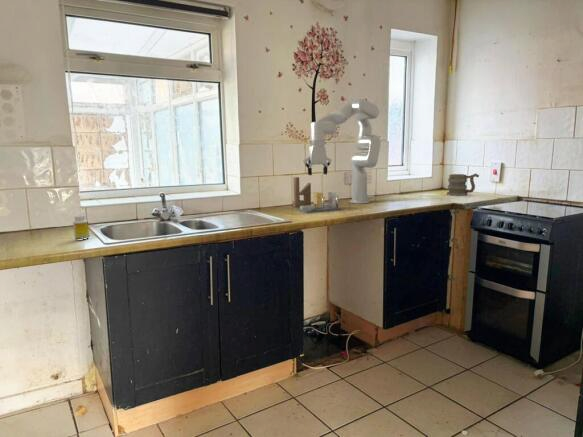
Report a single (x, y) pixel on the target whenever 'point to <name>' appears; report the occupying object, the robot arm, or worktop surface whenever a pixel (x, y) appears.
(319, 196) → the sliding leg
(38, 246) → the worktop surface
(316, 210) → the bolt plate
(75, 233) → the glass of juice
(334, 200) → the trammel beam
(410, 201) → the worktop surface
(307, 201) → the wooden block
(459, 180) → the tankard
